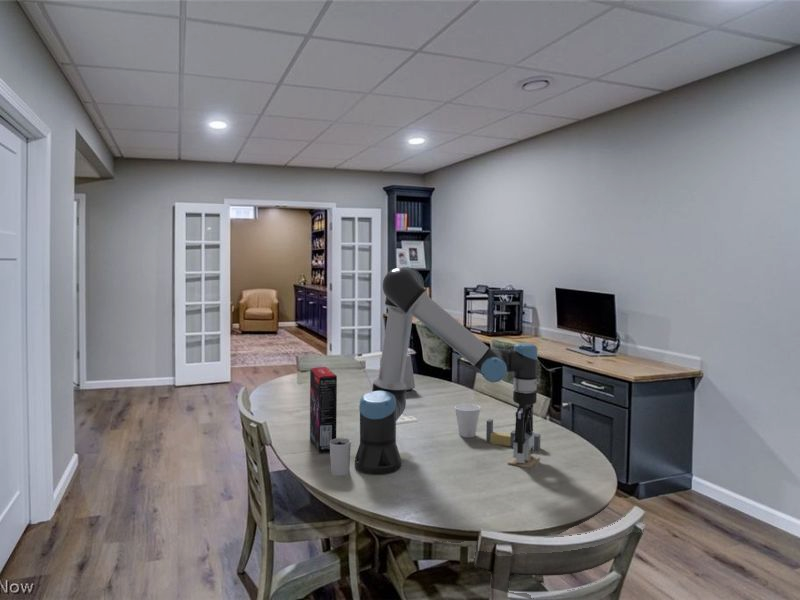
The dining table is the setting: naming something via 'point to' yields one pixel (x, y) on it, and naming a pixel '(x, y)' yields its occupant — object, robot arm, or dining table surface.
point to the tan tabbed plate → (528, 463)
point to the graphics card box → (323, 408)
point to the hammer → (506, 437)
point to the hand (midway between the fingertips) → (523, 458)
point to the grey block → (526, 445)
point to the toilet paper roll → (340, 456)
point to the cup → (467, 419)
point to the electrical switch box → (408, 374)
